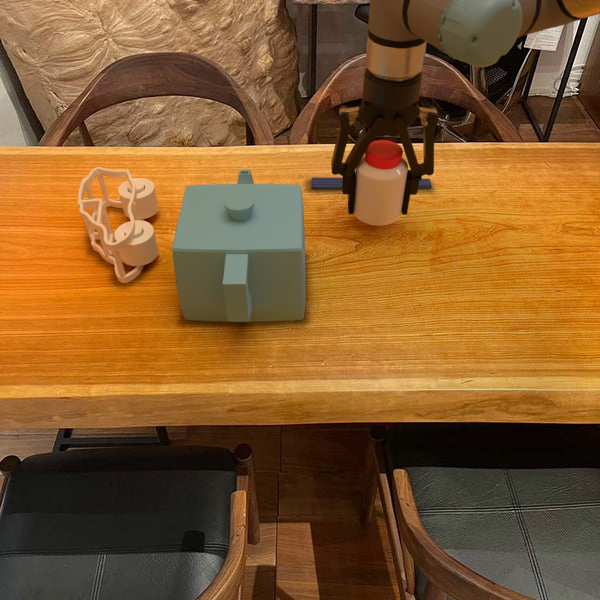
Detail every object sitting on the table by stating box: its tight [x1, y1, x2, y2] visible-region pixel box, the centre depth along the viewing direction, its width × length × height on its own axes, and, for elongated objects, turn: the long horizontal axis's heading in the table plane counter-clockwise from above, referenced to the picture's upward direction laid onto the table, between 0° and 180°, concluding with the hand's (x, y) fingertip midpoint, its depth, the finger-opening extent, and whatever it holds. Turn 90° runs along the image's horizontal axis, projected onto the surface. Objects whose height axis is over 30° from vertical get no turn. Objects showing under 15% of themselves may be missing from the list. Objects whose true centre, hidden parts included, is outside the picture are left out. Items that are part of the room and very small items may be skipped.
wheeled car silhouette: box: [77, 166, 160, 284], centre depth 90 cm, size 20×11×7 cm, turn 9°
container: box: [171, 169, 307, 323], centre depth 80 cm, size 17×25×15 cm
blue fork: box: [310, 176, 432, 190], centre depth 102 cm, size 21×3×1 cm, turn 89°
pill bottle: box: [353, 139, 409, 227], centre depth 89 cm, size 8×8×11 cm
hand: (377, 209), depth 93 cm, fingers closed on pill bottle, 8 cm apart
